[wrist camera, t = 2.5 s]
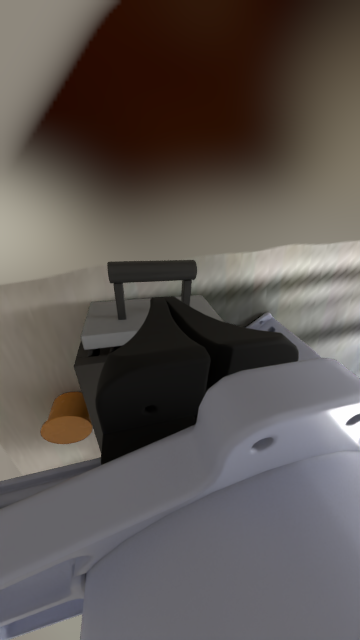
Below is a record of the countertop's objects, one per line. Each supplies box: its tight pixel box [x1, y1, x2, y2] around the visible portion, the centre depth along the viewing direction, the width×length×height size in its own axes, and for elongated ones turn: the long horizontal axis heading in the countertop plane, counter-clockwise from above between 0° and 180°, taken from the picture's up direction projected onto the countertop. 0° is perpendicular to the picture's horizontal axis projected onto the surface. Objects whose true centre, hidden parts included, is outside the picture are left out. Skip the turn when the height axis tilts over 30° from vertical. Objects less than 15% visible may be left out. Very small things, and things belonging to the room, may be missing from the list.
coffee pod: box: [41, 392, 93, 444], centre depth 23 cm, size 5×5×3 cm
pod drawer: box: [81, 260, 224, 356], centre depth 19 cm, size 17×10×5 cm, turn 177°
